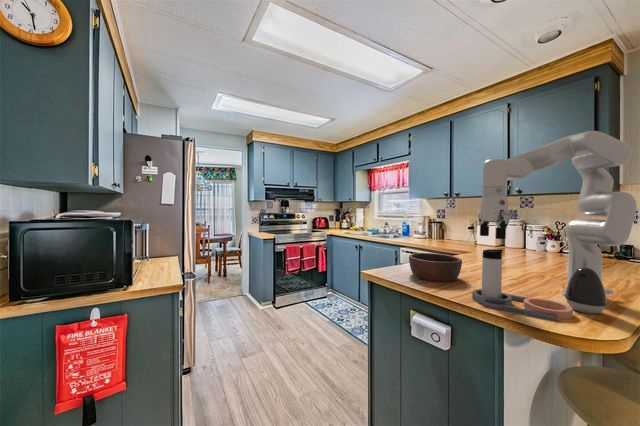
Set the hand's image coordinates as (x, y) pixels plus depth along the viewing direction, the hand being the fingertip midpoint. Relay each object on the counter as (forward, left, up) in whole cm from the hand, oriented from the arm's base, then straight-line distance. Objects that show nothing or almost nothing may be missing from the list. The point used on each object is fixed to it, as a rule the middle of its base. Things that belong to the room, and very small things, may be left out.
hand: (491, 237), depth 99 cm
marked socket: (-14, +9, -25) cm, 29 cm away
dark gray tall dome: (-27, +8, -25) cm, 38 cm away
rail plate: (-5, +3, -24) cm, 25 cm away
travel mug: (0, 0, -25) cm, 25 cm away
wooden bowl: (+8, -34, -25) cm, 43 cm away
